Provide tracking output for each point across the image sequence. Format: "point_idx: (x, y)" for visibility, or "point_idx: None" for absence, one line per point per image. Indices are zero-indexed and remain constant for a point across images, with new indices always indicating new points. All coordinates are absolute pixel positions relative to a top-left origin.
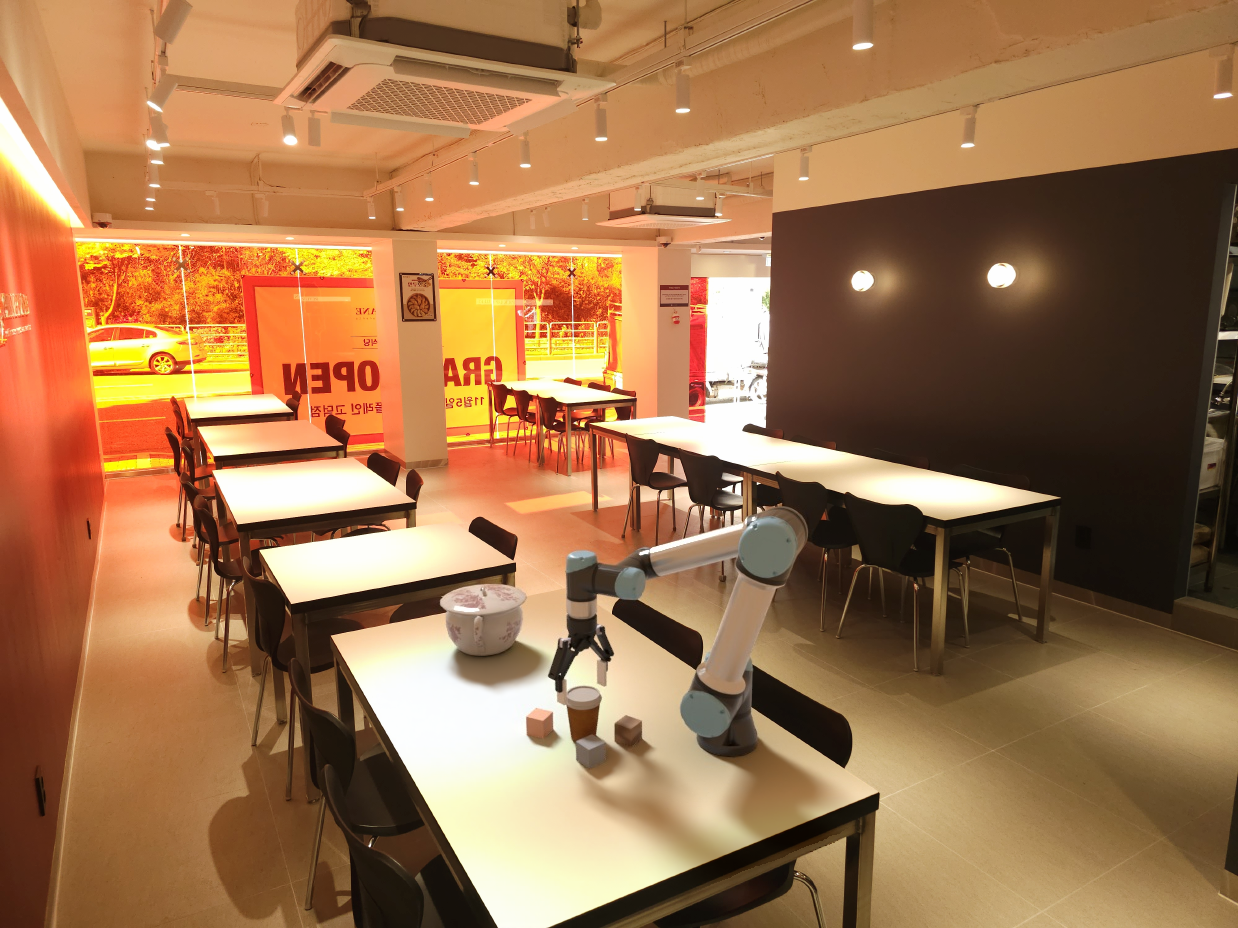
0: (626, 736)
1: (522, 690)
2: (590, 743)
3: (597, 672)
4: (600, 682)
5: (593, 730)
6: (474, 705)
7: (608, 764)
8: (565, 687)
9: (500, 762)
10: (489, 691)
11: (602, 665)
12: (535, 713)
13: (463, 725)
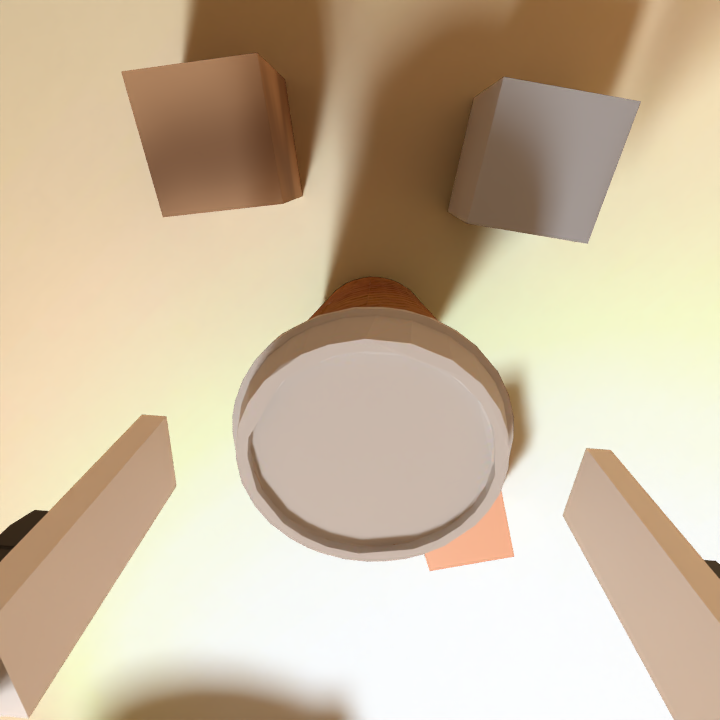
0: (278, 107)
1: (289, 654)
2: (564, 152)
3: (126, 558)
4: (162, 467)
5: (373, 285)
6: (449, 683)
7: (491, 58)
8: (706, 581)
9: (705, 443)
10: (362, 700)
11: (38, 602)
12: (468, 546)
13: (560, 644)
